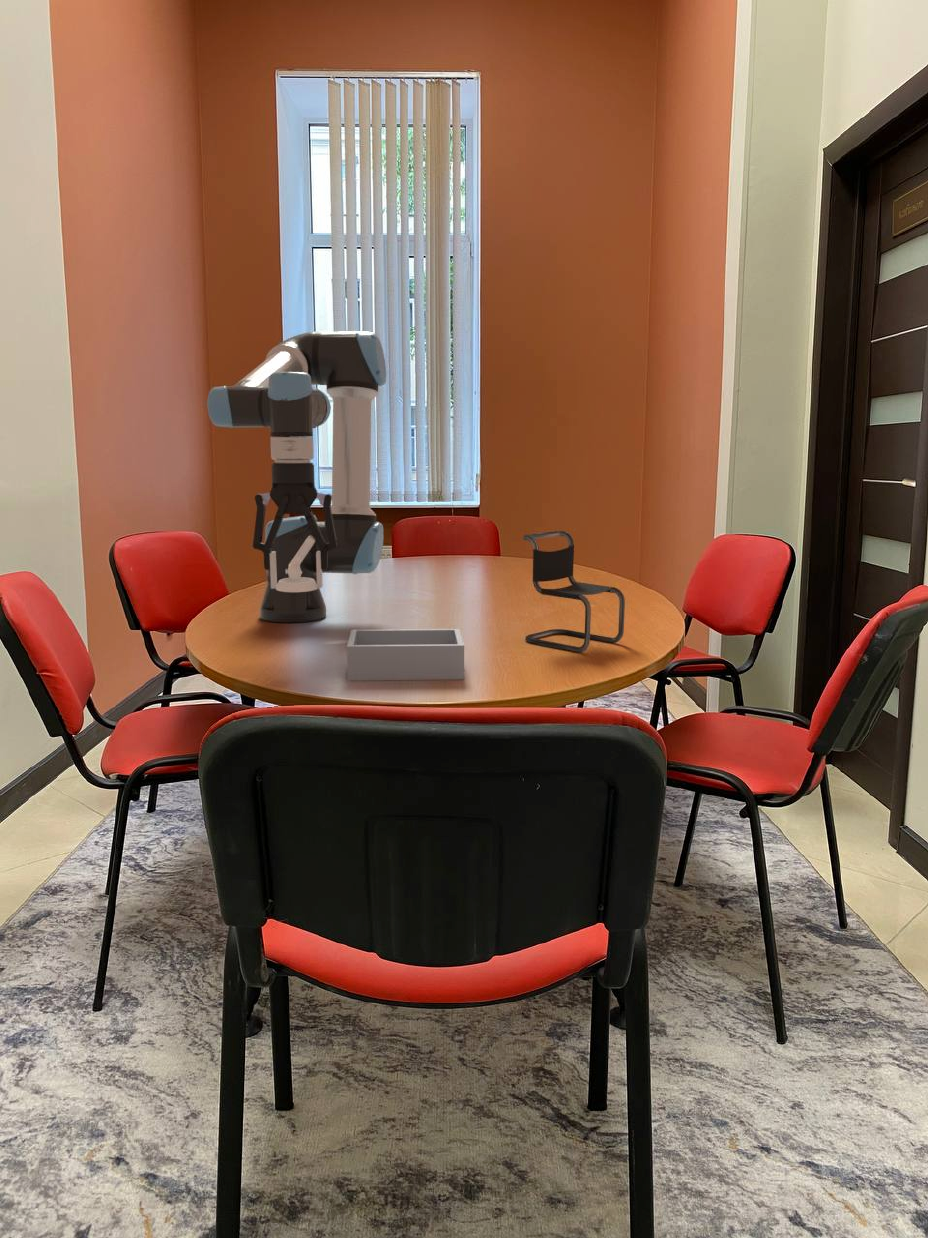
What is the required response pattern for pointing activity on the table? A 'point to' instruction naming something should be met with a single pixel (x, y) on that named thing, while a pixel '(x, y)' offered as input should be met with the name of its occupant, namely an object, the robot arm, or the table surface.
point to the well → (405, 654)
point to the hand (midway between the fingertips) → (296, 586)
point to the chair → (567, 590)
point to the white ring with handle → (298, 572)
